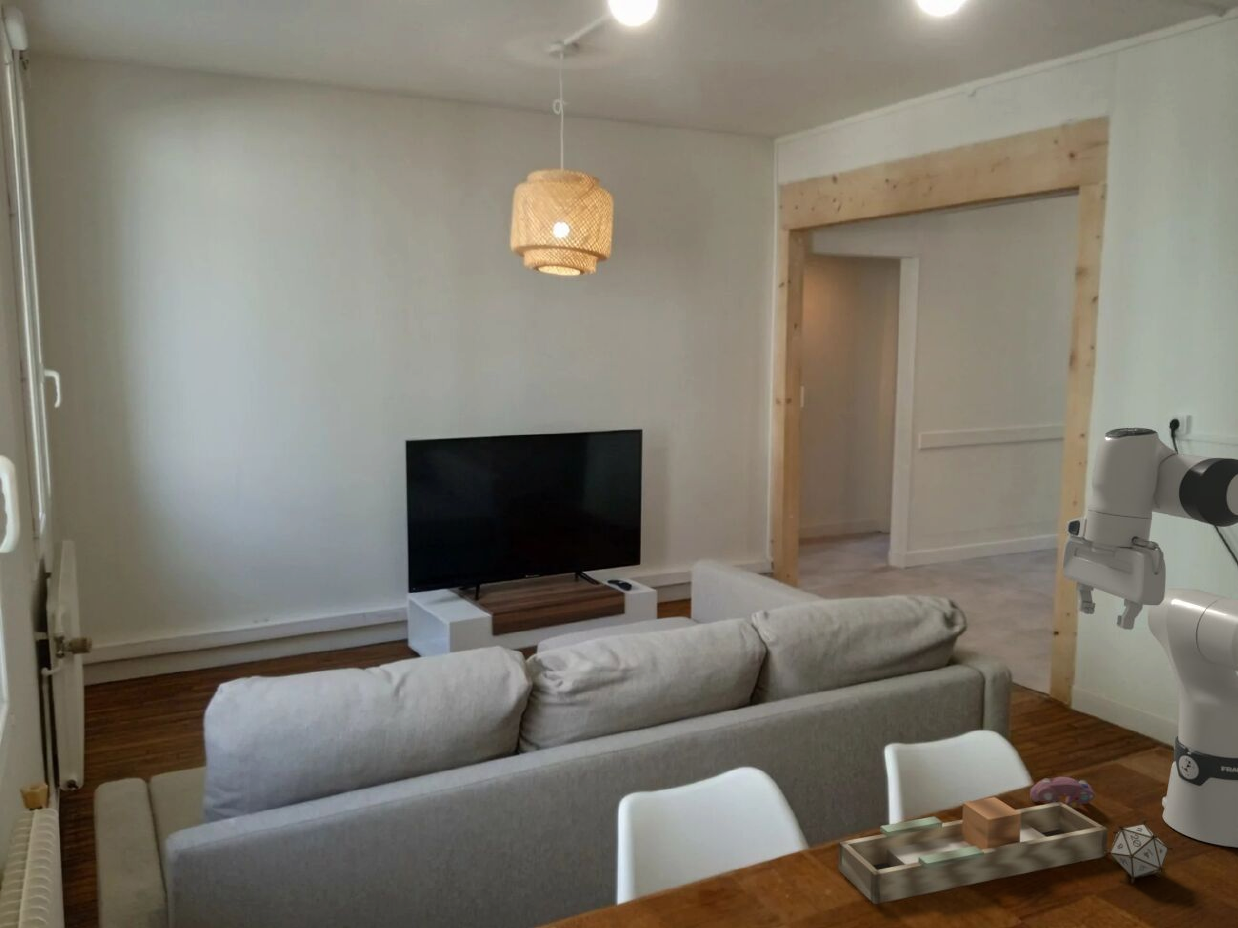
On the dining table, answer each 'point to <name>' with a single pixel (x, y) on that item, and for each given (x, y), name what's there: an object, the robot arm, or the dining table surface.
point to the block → (990, 823)
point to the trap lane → (965, 853)
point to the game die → (1138, 850)
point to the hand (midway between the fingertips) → (1104, 620)
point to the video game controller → (1062, 791)
